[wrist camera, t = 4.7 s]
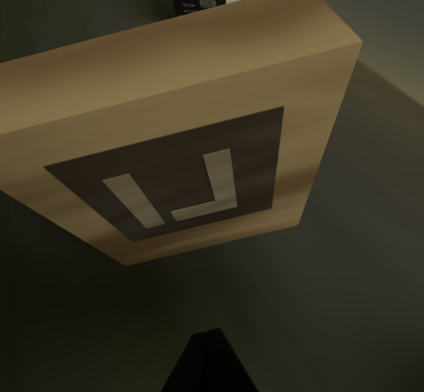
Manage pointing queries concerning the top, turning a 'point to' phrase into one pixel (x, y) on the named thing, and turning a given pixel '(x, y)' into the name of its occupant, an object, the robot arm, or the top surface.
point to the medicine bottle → (197, 5)
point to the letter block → (177, 126)
